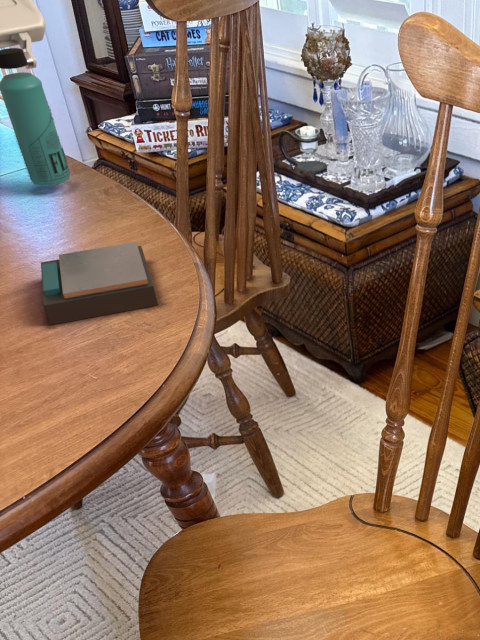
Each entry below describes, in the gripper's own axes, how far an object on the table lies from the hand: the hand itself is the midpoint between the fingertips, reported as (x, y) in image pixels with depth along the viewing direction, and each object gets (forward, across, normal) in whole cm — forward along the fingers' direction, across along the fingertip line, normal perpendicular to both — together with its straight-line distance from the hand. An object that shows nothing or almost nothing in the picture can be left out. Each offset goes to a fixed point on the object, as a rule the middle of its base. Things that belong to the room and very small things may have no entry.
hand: (3, 72), depth 121 cm
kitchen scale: (+44, -13, -21) cm, 51 cm away
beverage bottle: (+16, 0, +8) cm, 17 cm away
